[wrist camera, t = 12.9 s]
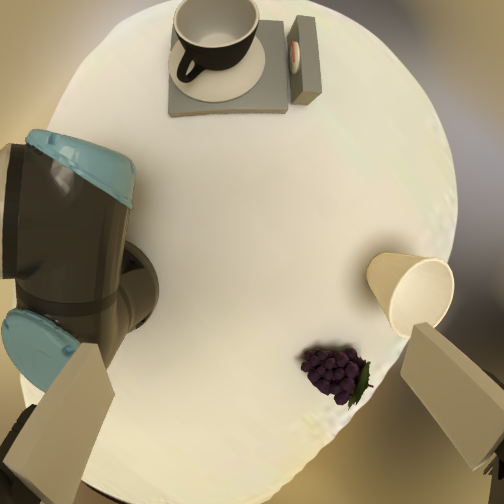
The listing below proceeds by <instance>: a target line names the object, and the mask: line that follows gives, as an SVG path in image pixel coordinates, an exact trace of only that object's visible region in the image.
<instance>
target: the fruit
mask: <svg viewBox="0 0 504 504" xmlns="http://www.w3.org/2000/svg"><path fill="white" fill-rule="evenodd" d="M355 358H356V359H355ZM304 359H305V360H306V361H307V362H303V363H302V365H301V370H302V371H304V372H309V373H308V375H307V377H308V379H309V380H310V382H311V383H312V384H313V386H315V387H317V388H318V390H319V391H321V392H322V393H324V394H326V395H329V394H333V395H335V396H334V400H335V402H336V404H337V405H344V404H345V403H347V401H348V400H349V403H348V407H349V408H350V407H351V405H352V404H353V405H354V403H355V402H356V405H357V403H358V402H359V400H360V398H361V396H362V395H363V392H364V391H365V389H367V388H368V386H369V387H372V388H373V387H374V386H372V385H369V384H368V381H369V376H370V374H369V365H370V362H367V363H366V360H364V361H363V360H362V358H361V357H360V358H358V357H357V352H356V350H355V349H354V348H350V349H347V350H346V351H345V353H343V352H341V351H338V352H336V353H334V352H330V351H328V350H327V351H322V350H321V349H317V350H315V352H314V353H313V352H312V351H308V352H305V355H304ZM318 364H319V365H318ZM348 410H349V409H348Z"/></svg>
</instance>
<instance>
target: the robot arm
mask: <svg viewBox="0 0 504 504" xmlns="http://www.w3.org/2000/svg"><path fill="white" fill-rule="evenodd" d="M25 142H26V144H25V145H21V144H11V143H8V144H7V145H6V146H4V147H3V149H1V150H0V279H14V278H15V283H16V298H17V306H16V308H14V309H12V310H11V311H9V312H8V313H7V316H6V319H4V321H3V323H2V328H1V335H2V340H3V344H4V347H5V349H6V352H7V354H8V356H9V357H10V359H11V361H12V362H13V364H14V365H15V366H16V367H17V369H18V370H19V371H20V372H21V373H22V374H23V375H24V376H25V378H26V379H27V380H28V381H30V382H31V383H32V384H33V385H34V386H36V387H37V388H38V389H40V390H41V391H43V392H45V394H44V396H43V397H42V399H41V400H40V402H39V403H38V405H34V404H32V405H31V406H29V407H28V408H27V409H25V410H24V411H23V412H22V413H21V415H20V416H19V418H18V419H17V423H15V424H14V425H13V427H12V431H10V432H9V433H8V435H7V437H6V438H5V440H4V441H3V443H2V445H1V446H0V504H40V502H41V501H42V502H43V503H45V504H73V501H74V498H75V495H76V492H77V489H78V486H79V483H80V480H81V478H82V475H83V472H84V469H85V467H86V464H87V461H88V459H89V456H90V454H91V451H92V448H93V446H94V443H95V441H96V438H97V436H98V433H99V431H100V429H101V426H102V424H103V421H104V419H105V417H106V414H107V412H108V410H109V407H110V405H111V403H112V400H113V398H114V396H115V393H114V391H113V388H112V385H111V383H110V380H109V377H108V374H107V371H106V370H107V368H108V366H109V365H110V363H111V361H112V359H113V357H114V355H115V354H116V352H117V350H118V348H119V346H120V345H121V343H122V341H123V339H124V338H125V336H126V334H128V333H130V332H131V331H133V330H135V329H137V328H139V327H140V326H142V325H143V324H144V323H145V322H146V321H147V320H148V319H149V317H150V316H151V314H152V312H153V311H154V309H155V307H156V304H157V301H158V296H159V284H158V279H157V275H156V272H155V270H154V268H153V266H152V264H151V262H150V261H149V259H148V258H147V257H146V256H145V254H144V253H143V252H142V251H141V250H140V249H138V248H137V247H136V246H134V245H133V244H131V243H129V242H127V241H125V237H126V231H127V225H128V220H129V214H130V209H131V210H132V208H133V204H132V203H131V201H132V195H133V188H134V183H135V177H136V170H135V167H134V164H133V163H132V161H131V160H130V159H129V158H128V157H126V156H125V155H122V154H120V153H118V152H116V151H113V150H110V149H108V148H105V147H102V146H100V145H97V144H94V143H91V142H87V141H84V140H81V139H78V138H74V137H70V136H66V135H60V134H58V133H53V132H50V131H46V130H40V129H33V130H32V131H30V133H29V135H28V136H27V137H26V138H25ZM400 375H401V376H402V377H403V379H404V380H405V381H406V382H407V384H408V385H409V386H410V387H411V389H412V390H413V391H414V393H415V394H416V395H417V396H418V398H419V399H420V400H421V401H422V403H423V404H424V405H425V407H426V408H427V409H428V411H429V412H430V413H431V415H432V416H433V417H434V419H435V420H436V421H437V423H438V424H439V425H440V427H441V428H442V429H443V431H444V432H445V433H446V435H447V436H448V437H449V439H450V440H451V441H452V443H453V444H454V446H455V447H456V448H457V450H458V451H459V453H460V454H461V455H462V457H463V458H464V460H465V461H466V462H467V464H468V465H469V467H470V468H471V470H472V471H473V470H475V469H477V468H478V467H479V466H481V465H482V464H484V463H485V462H486V461H487V460H488V459H489V458H490V456H491V455H492V454H493V453H494V452H495V453H496V455H497V456H496V457H495V458H494V459H493V461H492V462H491V463H490V464H489V465H488V466H487V468H486V469H485V470H484V473H483V474H486V473H487V472H488V471H489V470H490V468H492V466H493V469H492V470H491V471H490V473H489V475H492V481H491V489H490V496H489V502H488V504H504V384H503V383H502V382H501V383H500V381H499V380H498V379H497V378H496V377H495V376H494V375H493V374H491V373H490V372H488V371H485V370H484V369H480V368H479V367H478V366H477V365H476V364H475V363H474V362H472V361H471V360H470V359H469V358H468V357H467V356H466V355H465V354H463V353H462V352H461V351H460V350H459V349H458V348H457V347H455V346H454V345H453V344H452V343H451V342H450V341H448V340H447V339H446V338H445V337H444V336H443V335H441V334H440V333H439V332H438V331H437V330H435V329H434V328H433V327H432V326H431V325H430V324H428V323H427V322H424V323H419V324H414V325H413V329H412V333H411V337H410V341H409V345H408V349H407V352H406V356H405V359H404V363H403V366H402V370H401V373H400Z"/></svg>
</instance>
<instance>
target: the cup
mask: <svg viewBox="0 0 504 504" xmlns="http://www.w3.org/2000/svg"><path fill="white" fill-rule="evenodd" d="M366 278H367V282H368V284H369V286H370V288H371V290H372V291H373V293H374V295H375V297H376V299H377V300H378V302H379V304H380V306H381V308H382V309H383V311H384V313H385V315H386V317H387V319H388V321H389V323H390V325H391V327H392V330H393V331H394V332H395V333H396V334H397V335H398V336H401V337H403V338H410V337H411V333H412V329H413V325H414V324H419V323H424V322H427V323H428V324H430V325H431V326H432V327H433V328H434V327H435V326H437V324H438V323H439V322H440V321H441V320H442V318H443V317H444V315H445V314H446V312H447V310H448V309H449V306H450V303H451V301H452V297H453V292H454V278H453V274H452V271H451V269H450V268H449V266H448V264H447V263H445V262H444V261H443V260H442V259H438V258H434V257H433V258H428V257H420V256H412V255H404V254H396V253H388V252H386V253H381V254H378V255H377V256H376V257H374V258H373V259H372V261H371V262H370V264H369V265H368V268H367V271H366Z"/></svg>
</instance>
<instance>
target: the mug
mask: <svg viewBox="0 0 504 504" xmlns="http://www.w3.org/2000/svg"><path fill="white" fill-rule="evenodd" d="M258 23H259V11H258V8H257V6H256V4H255V2H254V1H253V0H184V1H183V2H182V3H181V4H180V5H179V6H178V8H177V9H176V11H175V14H174V19H173V24H174V29H175V32H176V34H177V37H178V39H179V41H180V43H181V44H182V46H183V48H184V49H185V53H184V55H183V57H182V59H181V61H180V63H179V65H178V68H177V78H178V80H179V81H181V82H183V83H189V82H191V81H193V80H194V79H195V78H196V77H197V76H198V75H199V74H200V73H201V72H203V71H204V70H212V71H222V70H226V69H229V68H232V67H234V66H235V65H237V64H238V63H239V62H240V61H241V60H242V59H243V58H244V56H245V55H246V54H247V52H248V50H249V48H250V46H251V44H252V42H253V39H254V37H255V34H256V31H257V27H258ZM192 60H193V61H194V63H195V65H194V67H193V69H192V70H191V71H190V72H189V73H188V74H187V75H186V73H187V70H188V67H189V65H190V63H191V62H192Z"/></svg>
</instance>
